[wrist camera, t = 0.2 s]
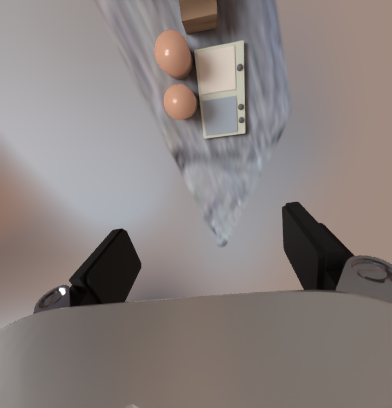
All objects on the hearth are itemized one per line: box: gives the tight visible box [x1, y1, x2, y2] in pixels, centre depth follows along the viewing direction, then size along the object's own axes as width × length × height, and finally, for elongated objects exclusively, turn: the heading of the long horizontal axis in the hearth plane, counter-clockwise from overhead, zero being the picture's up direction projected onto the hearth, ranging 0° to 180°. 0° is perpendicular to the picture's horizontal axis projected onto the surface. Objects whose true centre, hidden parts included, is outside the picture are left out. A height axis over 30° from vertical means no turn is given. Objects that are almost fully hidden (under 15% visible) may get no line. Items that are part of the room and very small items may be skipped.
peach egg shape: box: [155, 30, 193, 79], centre depth 30 cm, size 5×5×6 cm
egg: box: [164, 84, 198, 120], centre depth 32 cm, size 5×5×6 cm
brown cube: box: [179, 0, 217, 34], centre depth 27 cm, size 5×5×5 cm
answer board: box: [194, 40, 245, 139], centre depth 33 cm, size 14×8×1 cm, turn 8°
